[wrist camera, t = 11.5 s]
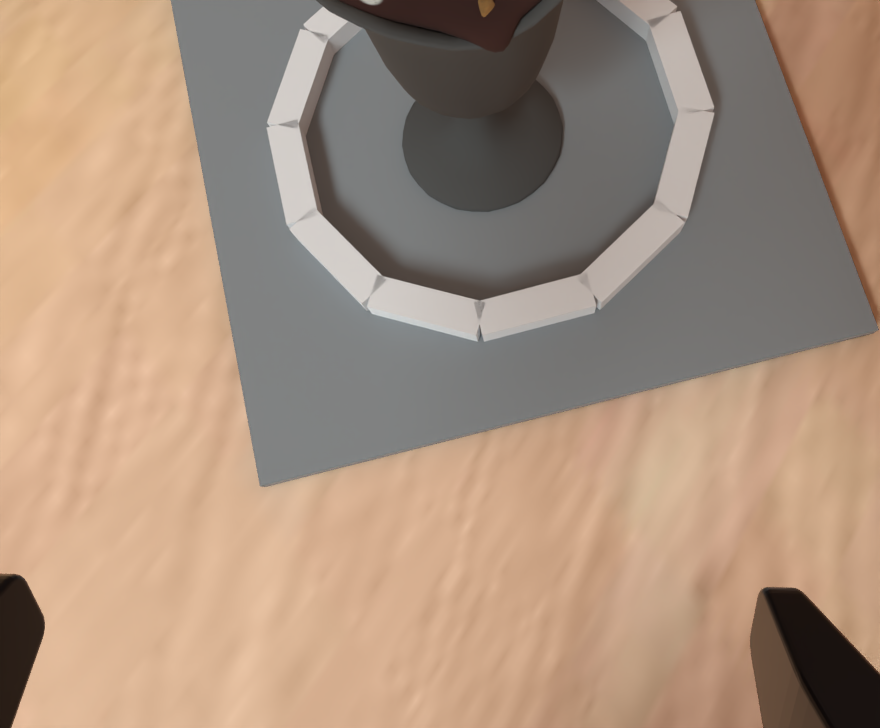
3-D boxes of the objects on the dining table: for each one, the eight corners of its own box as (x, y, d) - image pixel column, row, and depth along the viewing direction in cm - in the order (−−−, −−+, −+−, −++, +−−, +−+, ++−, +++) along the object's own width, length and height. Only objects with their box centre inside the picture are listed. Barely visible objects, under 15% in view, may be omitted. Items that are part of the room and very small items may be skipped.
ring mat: (873, 333, 23) (890, 322, 22) (264, 487, 24) (250, 484, 23) (682, -176, 27) (689, -208, 26) (170, -23, 28) (154, -48, 27)
